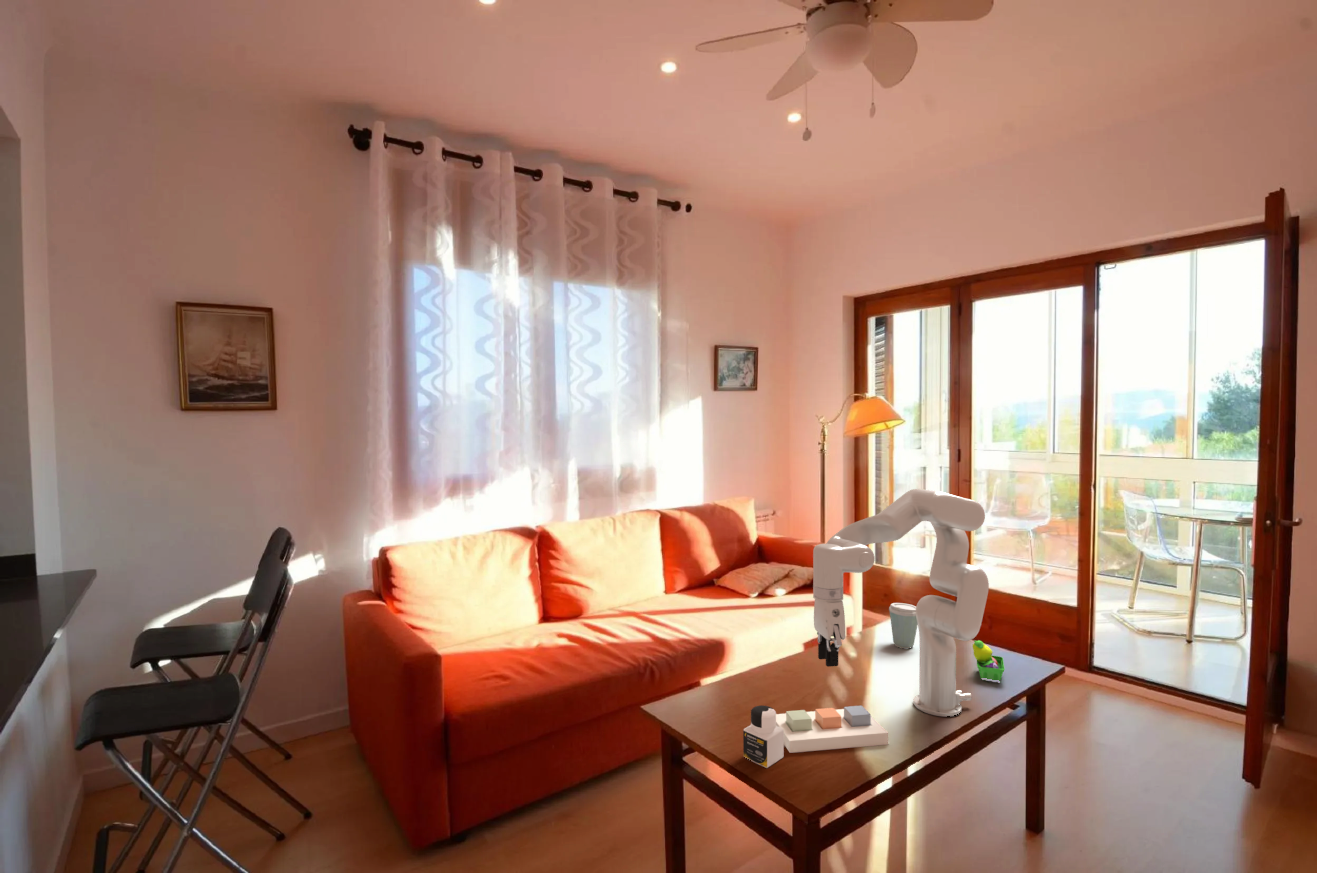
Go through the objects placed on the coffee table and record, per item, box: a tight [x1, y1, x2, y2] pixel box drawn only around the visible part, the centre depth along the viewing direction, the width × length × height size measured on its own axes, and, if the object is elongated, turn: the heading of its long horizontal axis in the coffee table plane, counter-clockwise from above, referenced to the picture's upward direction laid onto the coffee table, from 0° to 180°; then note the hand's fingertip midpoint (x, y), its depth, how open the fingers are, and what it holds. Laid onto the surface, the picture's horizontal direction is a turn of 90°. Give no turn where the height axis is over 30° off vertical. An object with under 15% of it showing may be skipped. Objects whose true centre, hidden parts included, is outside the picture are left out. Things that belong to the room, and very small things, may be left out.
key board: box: [776, 708, 889, 754], centre depth 164 cm, size 26×14×3 cm, turn 98°
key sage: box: [785, 709, 812, 732], centre depth 163 cm, size 5×5×4 cm
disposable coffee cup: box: [888, 602, 918, 649], centre depth 227 cm, size 11×11×15 cm
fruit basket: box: [972, 640, 1005, 682], centre depth 200 cm, size 11×9×11 cm
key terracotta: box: [814, 707, 841, 729], centre depth 164 cm, size 5×5×4 cm
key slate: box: [843, 705, 872, 727], centre depth 165 cm, size 5×5×4 cm
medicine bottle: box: [742, 705, 785, 769], centre depth 154 cm, size 7×7×12 cm
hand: (828, 661), depth 164 cm, fingers open, 4 cm apart
